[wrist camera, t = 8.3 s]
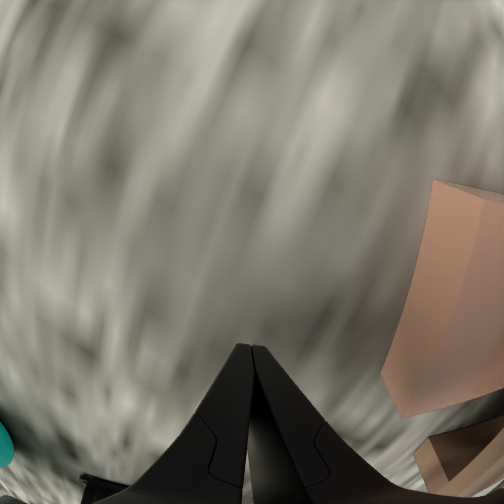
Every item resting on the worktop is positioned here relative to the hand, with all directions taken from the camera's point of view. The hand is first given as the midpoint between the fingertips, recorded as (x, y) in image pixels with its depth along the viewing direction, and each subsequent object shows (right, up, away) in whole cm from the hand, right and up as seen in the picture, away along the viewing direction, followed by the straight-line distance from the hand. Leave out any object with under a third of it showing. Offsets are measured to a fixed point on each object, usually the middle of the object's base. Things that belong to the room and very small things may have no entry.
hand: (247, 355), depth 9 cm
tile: (+13, +2, +2) cm, 13 cm away
